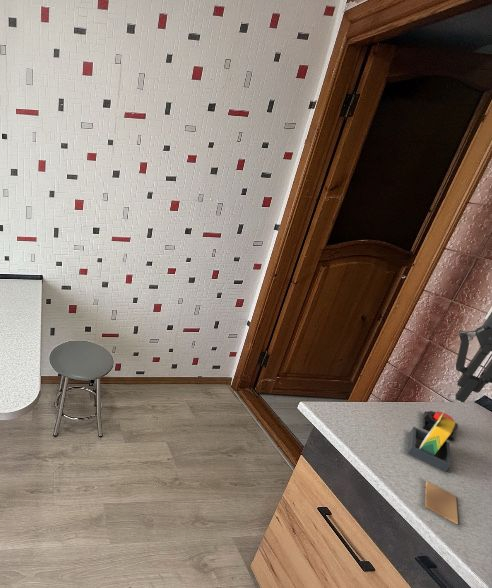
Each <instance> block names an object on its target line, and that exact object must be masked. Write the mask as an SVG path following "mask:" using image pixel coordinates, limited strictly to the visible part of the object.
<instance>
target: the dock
mask: <svg viewBox="0 0 492 588" xmlns="http://www.w3.org/2000/svg"><path fill="white" fill-rule="evenodd" d="M428 433H429V432H428V431H426V430H422V429H420V428H418V427H416V426H412V428H411V430H410V432H409V433H408V444H407V445H408V446H407V455H409V456H412V457H413V458H415V459H418V460H420V461H422V462H424V463H426V464H428V465H430V466H433V467H434V468H436V469H438V470H441V471H443V472H445V473H446V472H447V471H448V470H449V468H451V466H452V460H451V459H452V458H451V444H450V443H451V442H449V441H448V440H446V441H445V442H444V444H443V445H442V446H441V448H440V449H441V458H439V457H437V456H436V455H435V456H433V455H431V454H429V453H427V452H425V451H422V450H420V449H418V448H419V447H416V442H417V439H419V440H422V441H423V440H424V438H425V437H426V436H427V434H428Z"/></svg>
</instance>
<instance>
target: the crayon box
mask: <svg viewBox="0 0 492 588" xmlns="http://www.w3.org/2000/svg"><path fill="white" fill-rule="evenodd" d="M444 413H446V410H445V409H444V410H443V413H442V415H441V416H440V418H439V419H438V420H437V422H436V423H435V425H434V426H433V427H432V429H431V430H430V432H429V431H428V432H427V433H428V434H427V436H426V437H425V438H424V440H422V441H421V443H420V445H419V446H418V447H417V448H418V449H420V450H422V451H425V452H427V453H429V454H431V455H433V456H435V457H436V454H437V453H438V452H439V450H440V449H441V446H442V445H443V444H444V442H445V441H448V439H447V438H448V437H449V436H450V435H451V433H452V431H453V428H454V426H455V423H457V422H456V421H455V420H454V421H455V422H454V421H452V420H450V419H448V418H446V417H443V414H444Z"/></svg>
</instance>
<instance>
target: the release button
mask: <svg viewBox="0 0 492 588" xmlns="http://www.w3.org/2000/svg"><path fill="white" fill-rule="evenodd" d="M435 412H436V413H435V414H434V416H433V417H434V418H435V419H436V420H438V419H439V418H440V416H441V415H442V413H443V412H444V411H443V412H442V411H435ZM443 417H446V418H448V419H450V420H452V421H453V420H454V418H453V417H452V416H451V415H449V414H448V413H446V412H444V414H443Z"/></svg>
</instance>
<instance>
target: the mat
mask: <svg viewBox="0 0 492 588" xmlns="http://www.w3.org/2000/svg"><path fill="white" fill-rule="evenodd" d="M424 498H425V501H424V507H425V508H426V509H428V510H430V511H432V512H434V513H436V515H439V516H441V517H443V518H445V519H447V520H449V521H450V522H452V523H453V524H456V525H458V524H459V519H458V517H459V516H458V504H457V503H458V502H457V496H456V495H455V494H453V493H451V492H448V491H446V490H444V488H441V487H439V486H438V485H436V484H433V483H431V482H430V481H428V480H426V481H425V496H424Z"/></svg>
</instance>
